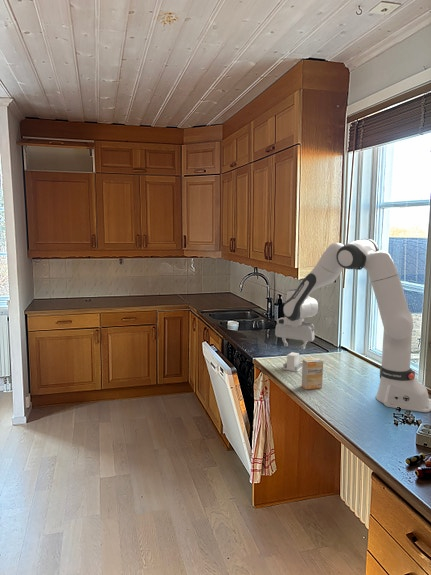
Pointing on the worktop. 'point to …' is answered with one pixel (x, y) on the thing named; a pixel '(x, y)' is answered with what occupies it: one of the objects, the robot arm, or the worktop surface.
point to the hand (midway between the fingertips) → (294, 347)
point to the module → (292, 360)
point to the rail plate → (297, 368)
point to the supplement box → (312, 373)
